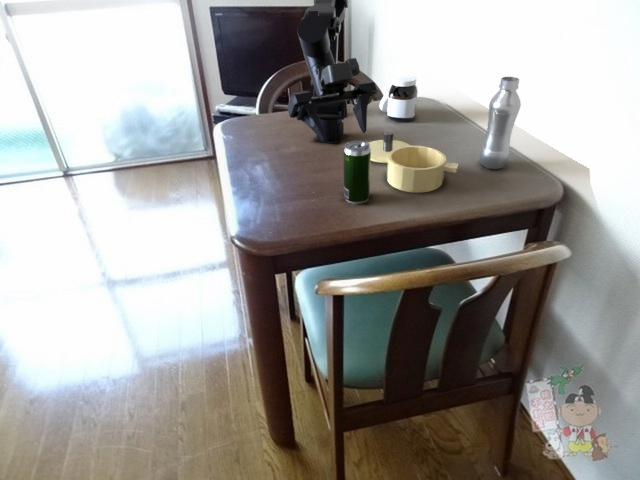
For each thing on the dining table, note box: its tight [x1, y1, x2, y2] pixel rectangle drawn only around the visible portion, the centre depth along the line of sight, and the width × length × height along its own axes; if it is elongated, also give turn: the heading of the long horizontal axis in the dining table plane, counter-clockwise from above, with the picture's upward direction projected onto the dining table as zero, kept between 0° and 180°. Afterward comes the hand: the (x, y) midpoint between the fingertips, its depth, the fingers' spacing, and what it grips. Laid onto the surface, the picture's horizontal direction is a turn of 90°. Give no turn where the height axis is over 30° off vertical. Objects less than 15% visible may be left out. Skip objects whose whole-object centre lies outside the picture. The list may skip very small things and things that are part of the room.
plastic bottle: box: [478, 76, 522, 170], centre depth 96 cm, size 6×7×20 cm
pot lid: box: [368, 130, 412, 164], centre depth 108 cm, size 13×13×6 cm
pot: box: [376, 145, 459, 194], centre depth 97 cm, size 12×18×6 cm
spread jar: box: [378, 74, 419, 123], centre depth 129 cm, size 12×11×12 cm
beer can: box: [343, 140, 372, 205], centre depth 89 cm, size 5×5×12 cm
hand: (345, 136), depth 89 cm, fingers open, 9 cm apart
